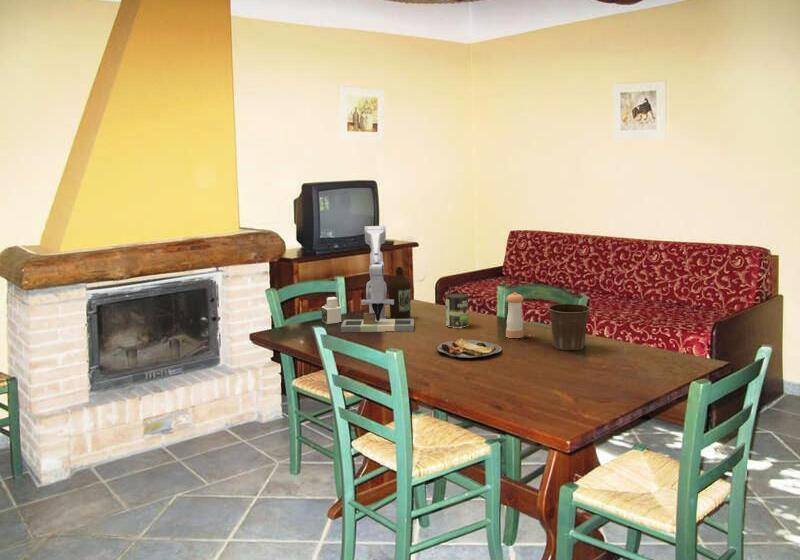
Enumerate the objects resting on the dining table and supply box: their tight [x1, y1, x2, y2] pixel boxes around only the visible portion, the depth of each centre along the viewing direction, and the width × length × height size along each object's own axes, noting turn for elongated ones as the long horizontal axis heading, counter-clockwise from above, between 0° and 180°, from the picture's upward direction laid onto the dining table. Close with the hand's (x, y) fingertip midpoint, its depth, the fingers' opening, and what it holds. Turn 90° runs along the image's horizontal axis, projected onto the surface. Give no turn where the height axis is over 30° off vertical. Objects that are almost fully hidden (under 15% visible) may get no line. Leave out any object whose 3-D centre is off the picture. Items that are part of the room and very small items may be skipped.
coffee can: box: [445, 292, 469, 329], centre depth 338 cm, size 10×10×14 cm
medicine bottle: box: [321, 295, 342, 325], centre depth 352 cm, size 7×7×12 cm
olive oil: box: [387, 265, 412, 319], centre depth 355 cm, size 11×11×25 cm
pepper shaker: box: [505, 291, 524, 339], centre depth 316 cm, size 7×7×19 cm
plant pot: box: [547, 303, 591, 351], centre depth 298 cm, size 16×16×16 cm
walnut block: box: [362, 312, 375, 324], centre depth 338 cm, size 5×5×4 cm
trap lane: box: [340, 318, 415, 333], centre depth 338 cm, size 14×32×2 cm, turn 89°
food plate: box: [435, 337, 502, 359], centre depth 295 cm, size 25×23×4 cm
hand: (378, 320), depth 338 cm, fingers closed
